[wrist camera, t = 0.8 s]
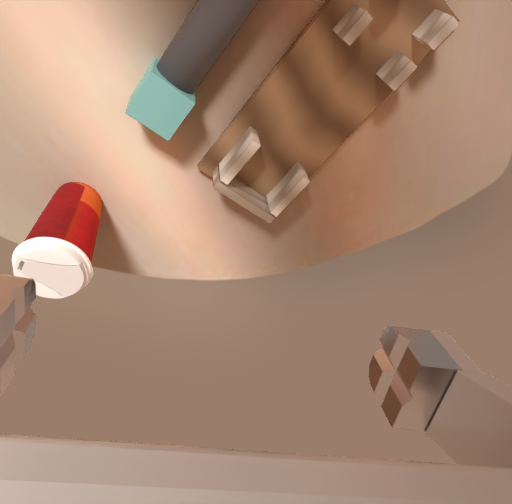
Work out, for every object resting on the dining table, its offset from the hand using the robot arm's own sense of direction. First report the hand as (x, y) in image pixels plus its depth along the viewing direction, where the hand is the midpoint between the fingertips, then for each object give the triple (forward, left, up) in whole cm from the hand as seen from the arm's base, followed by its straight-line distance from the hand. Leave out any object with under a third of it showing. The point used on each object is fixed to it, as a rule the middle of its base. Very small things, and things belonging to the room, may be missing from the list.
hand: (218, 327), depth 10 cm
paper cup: (+27, 0, -41) cm, 49 cm away
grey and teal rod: (-2, +1, -41) cm, 41 cm away
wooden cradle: (-1, +15, -41) cm, 44 cm away
